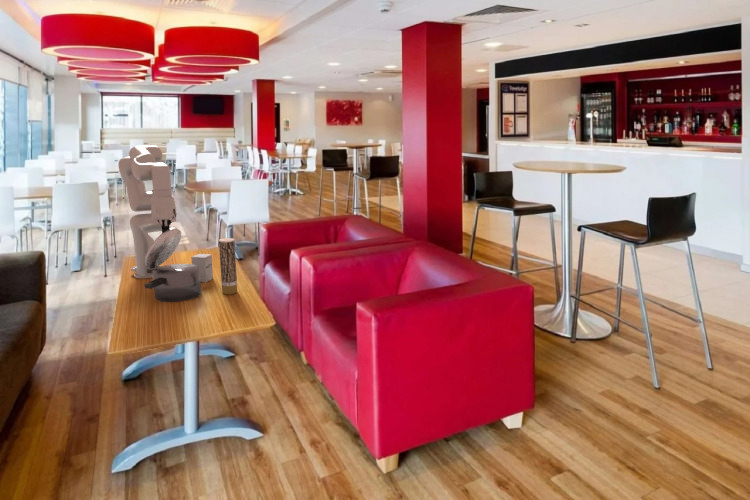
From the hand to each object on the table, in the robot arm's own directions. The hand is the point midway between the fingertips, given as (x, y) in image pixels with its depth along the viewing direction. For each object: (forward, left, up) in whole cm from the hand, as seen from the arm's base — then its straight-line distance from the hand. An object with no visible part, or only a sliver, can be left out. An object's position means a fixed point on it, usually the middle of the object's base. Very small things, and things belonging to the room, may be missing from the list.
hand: (166, 234), depth 244 cm
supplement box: (+2, +24, -28) cm, 37 cm away
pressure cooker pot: (+2, -5, -28) cm, 29 cm away
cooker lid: (-1, 0, -7) cm, 7 cm away
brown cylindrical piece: (+25, +9, -28) cm, 38 cm away
